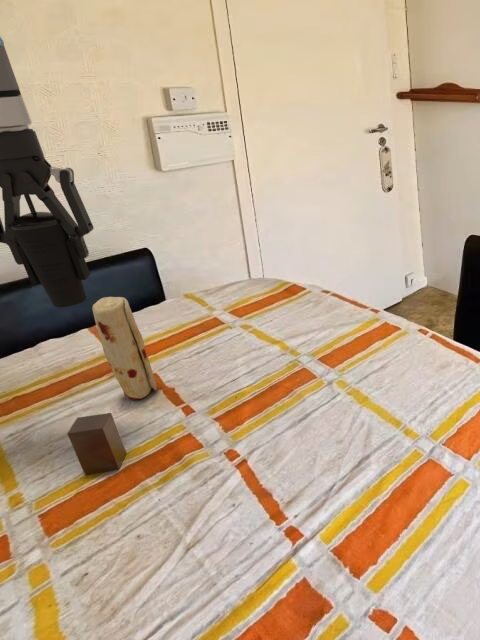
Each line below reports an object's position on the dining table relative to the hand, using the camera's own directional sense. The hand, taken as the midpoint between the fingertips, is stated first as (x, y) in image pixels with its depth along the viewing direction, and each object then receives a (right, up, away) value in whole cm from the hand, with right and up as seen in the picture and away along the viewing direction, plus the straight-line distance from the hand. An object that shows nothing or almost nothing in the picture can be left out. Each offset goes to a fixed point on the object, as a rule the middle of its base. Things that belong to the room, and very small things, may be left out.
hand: (61, 279), depth 102 cm
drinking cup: (0, -4, +2) cm, 4 cm away
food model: (0, -19, +22) cm, 29 cm away
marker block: (+7, -30, +1) cm, 31 cm away
